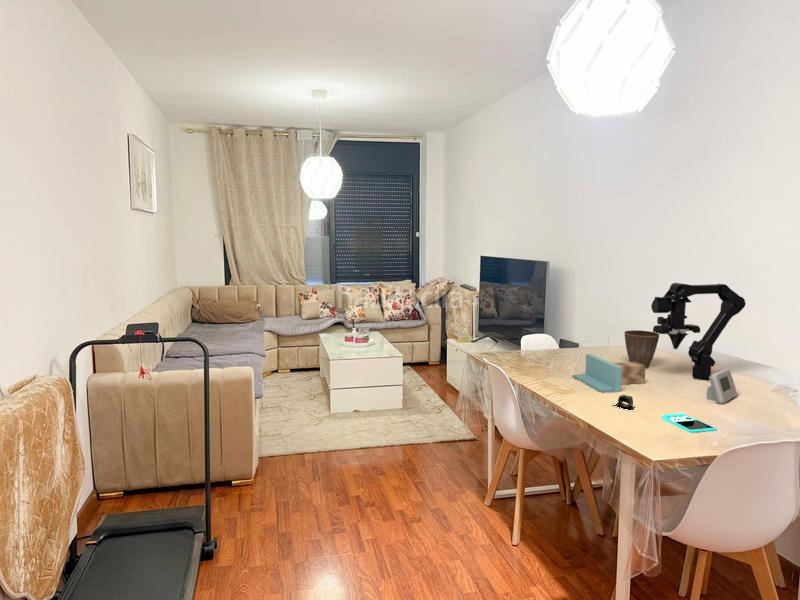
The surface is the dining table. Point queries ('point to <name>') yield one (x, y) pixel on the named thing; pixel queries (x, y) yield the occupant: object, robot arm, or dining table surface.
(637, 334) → the plant pot
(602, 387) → the teal board
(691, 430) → the handheld game console
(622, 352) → the dining table surface
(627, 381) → the walnut block
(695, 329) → the robot arm
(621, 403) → the black block on plate
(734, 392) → the digital clock
